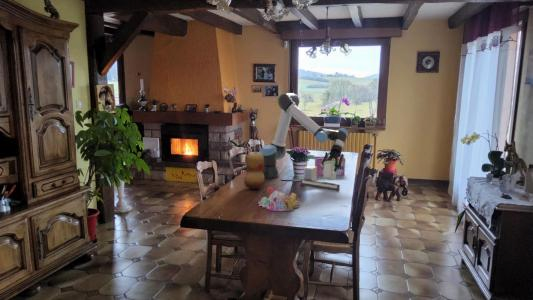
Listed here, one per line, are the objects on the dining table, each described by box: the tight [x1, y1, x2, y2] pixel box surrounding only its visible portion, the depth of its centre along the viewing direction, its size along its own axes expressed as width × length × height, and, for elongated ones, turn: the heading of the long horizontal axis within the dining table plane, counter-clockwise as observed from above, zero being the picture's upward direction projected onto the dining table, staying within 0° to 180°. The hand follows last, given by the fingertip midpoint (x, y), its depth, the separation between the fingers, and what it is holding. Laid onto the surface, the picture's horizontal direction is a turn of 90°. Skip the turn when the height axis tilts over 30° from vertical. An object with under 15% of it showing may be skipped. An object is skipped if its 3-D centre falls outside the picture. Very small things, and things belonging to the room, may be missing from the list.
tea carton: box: [322, 160, 337, 181], centre depth 259 cm, size 8×6×12 cm
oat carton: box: [303, 165, 318, 181], centre depth 267 cm, size 8×6×12 cm
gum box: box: [314, 156, 346, 176], centre depth 297 cm, size 24×8×14 cm, turn 94°
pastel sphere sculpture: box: [257, 186, 301, 212], centre depth 218 cm, size 25×24×9 cm
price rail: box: [300, 178, 341, 192], centre depth 257 cm, size 28×2×4 cm, turn 58°
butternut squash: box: [243, 151, 265, 190], centre depth 250 cm, size 14×13×25 cm
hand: (327, 174), depth 256 cm, fingers closed on tea carton, 6 cm apart
